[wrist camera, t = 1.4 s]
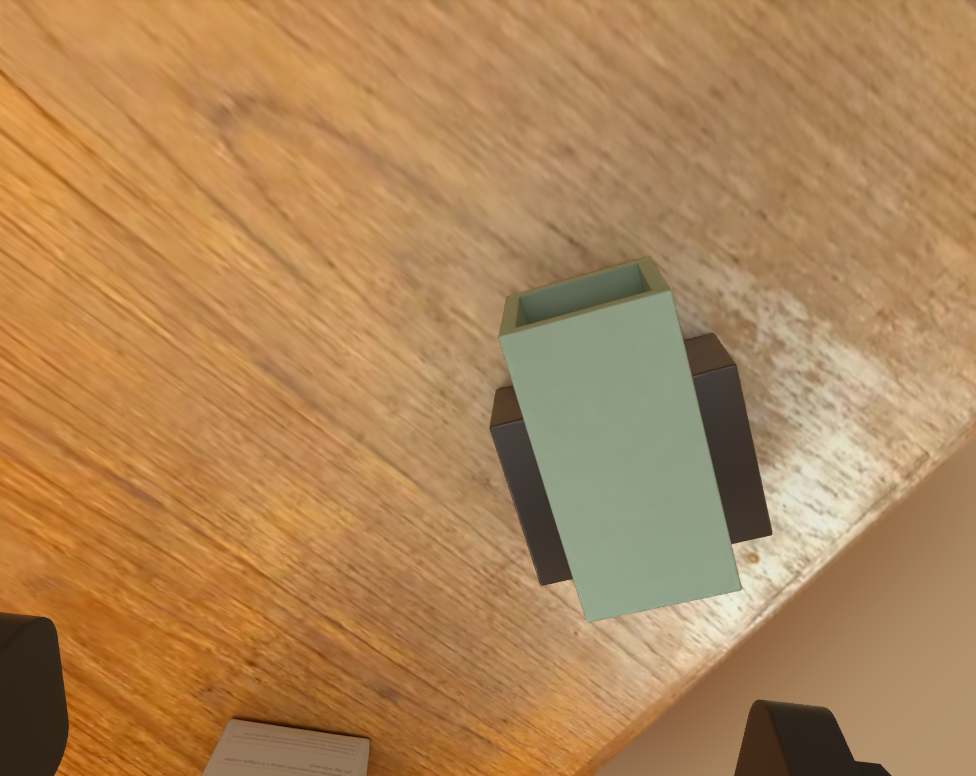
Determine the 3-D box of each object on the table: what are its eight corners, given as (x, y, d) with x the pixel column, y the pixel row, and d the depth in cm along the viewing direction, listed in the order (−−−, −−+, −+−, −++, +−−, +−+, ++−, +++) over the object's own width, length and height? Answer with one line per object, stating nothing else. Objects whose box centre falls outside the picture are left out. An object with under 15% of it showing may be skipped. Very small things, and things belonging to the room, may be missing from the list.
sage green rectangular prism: (506, 296, 28) (497, 336, 23) (649, 255, 27) (671, 289, 22) (580, 543, 31) (586, 623, 26) (711, 513, 30) (742, 590, 25)
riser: (495, 389, 33) (488, 427, 29) (714, 332, 32) (736, 363, 28) (541, 534, 35) (540, 587, 32) (748, 486, 34) (773, 535, 30)
